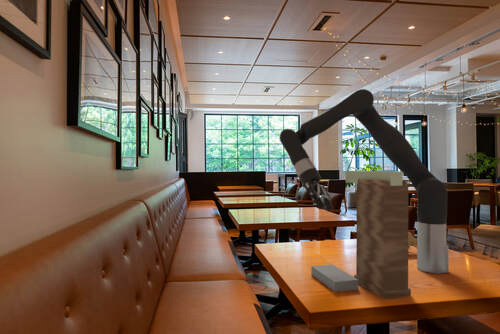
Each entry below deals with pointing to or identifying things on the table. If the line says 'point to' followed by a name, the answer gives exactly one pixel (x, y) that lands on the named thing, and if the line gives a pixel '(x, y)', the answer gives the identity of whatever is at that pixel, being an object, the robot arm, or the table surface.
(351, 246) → the table surface
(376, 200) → the pedestal
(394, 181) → the pale green bar
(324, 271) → the base block
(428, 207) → the robot arm
